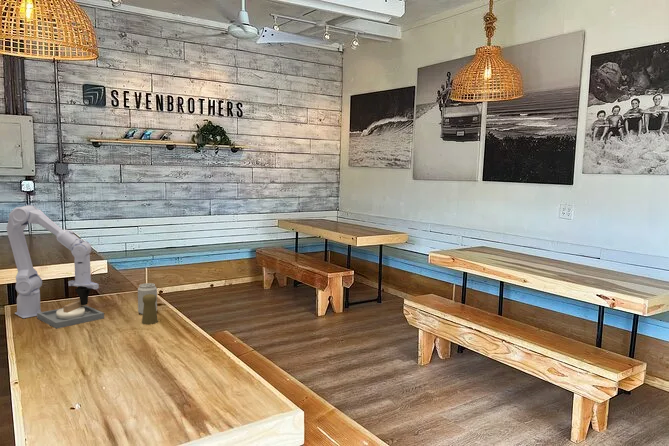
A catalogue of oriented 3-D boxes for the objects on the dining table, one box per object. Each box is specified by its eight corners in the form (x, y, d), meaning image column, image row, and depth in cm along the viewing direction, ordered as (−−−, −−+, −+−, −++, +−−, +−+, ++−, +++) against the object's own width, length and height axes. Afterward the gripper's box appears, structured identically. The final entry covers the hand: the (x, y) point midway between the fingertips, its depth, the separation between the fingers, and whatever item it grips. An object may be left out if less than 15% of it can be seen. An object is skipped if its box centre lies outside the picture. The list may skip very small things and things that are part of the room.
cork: (160, 320, 200) (160, 293, 199) (153, 324, 194) (153, 297, 193) (146, 319, 201) (145, 292, 200) (138, 323, 195) (138, 296, 194)
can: (153, 315, 206) (152, 287, 204) (135, 314, 206) (134, 286, 205) (159, 310, 213) (159, 282, 212) (142, 309, 213) (141, 282, 212)
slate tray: (37, 318, 198) (37, 313, 198) (83, 309, 212) (83, 304, 212) (56, 328, 187) (56, 322, 186) (104, 318, 201) (104, 312, 200)
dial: (50, 318, 195) (50, 306, 194) (72, 308, 208) (72, 298, 207) (74, 319, 194) (73, 308, 193) (94, 310, 206) (94, 299, 206)
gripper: (61, 272, 202) (62, 304, 204) (87, 275, 197) (89, 309, 198) (76, 268, 209) (77, 300, 210) (102, 272, 203) (103, 304, 205)
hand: (84, 304), depth 205 cm, fingers closed, pressing on dial
